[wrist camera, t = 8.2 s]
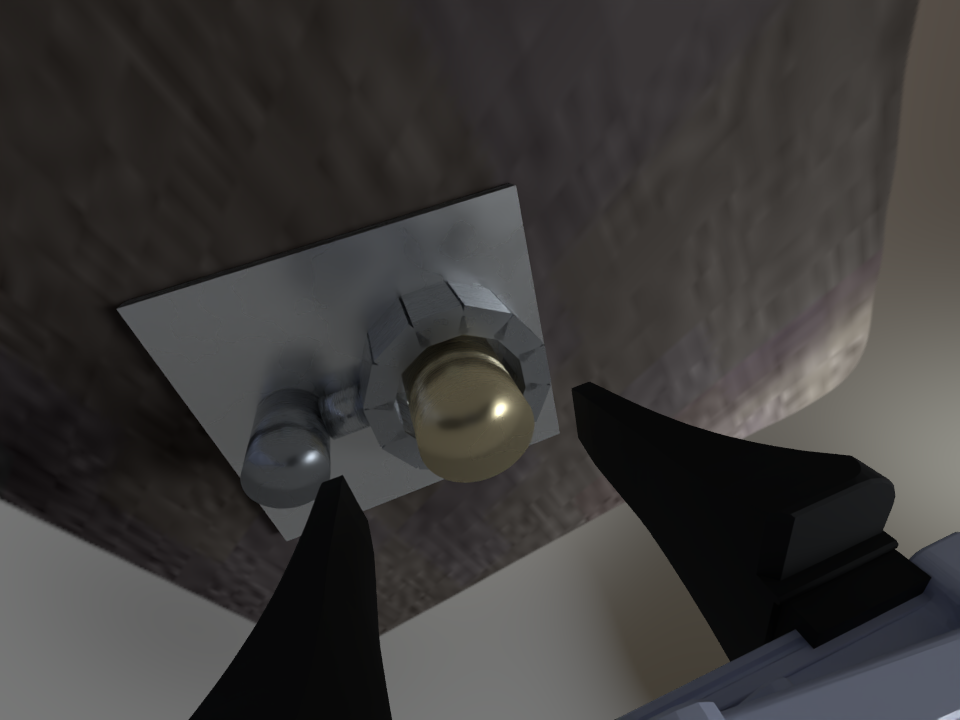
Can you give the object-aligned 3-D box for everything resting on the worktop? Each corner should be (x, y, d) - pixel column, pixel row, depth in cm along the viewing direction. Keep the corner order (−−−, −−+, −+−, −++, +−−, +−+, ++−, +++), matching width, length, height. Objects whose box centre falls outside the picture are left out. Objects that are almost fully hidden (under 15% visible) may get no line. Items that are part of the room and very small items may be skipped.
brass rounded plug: (413, 409, 22) (435, 497, 17) (387, 334, 20) (403, 408, 15) (496, 383, 23) (541, 459, 18) (480, 306, 21) (526, 368, 16)
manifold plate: (287, 529, 24) (279, 611, 20) (124, 301, 17) (62, 357, 13) (553, 425, 27) (594, 480, 23) (509, 182, 19) (557, 200, 15)
